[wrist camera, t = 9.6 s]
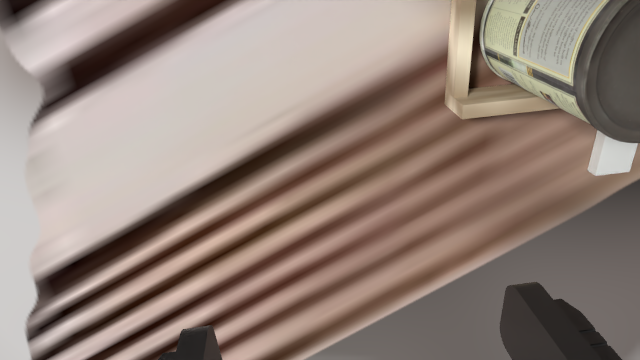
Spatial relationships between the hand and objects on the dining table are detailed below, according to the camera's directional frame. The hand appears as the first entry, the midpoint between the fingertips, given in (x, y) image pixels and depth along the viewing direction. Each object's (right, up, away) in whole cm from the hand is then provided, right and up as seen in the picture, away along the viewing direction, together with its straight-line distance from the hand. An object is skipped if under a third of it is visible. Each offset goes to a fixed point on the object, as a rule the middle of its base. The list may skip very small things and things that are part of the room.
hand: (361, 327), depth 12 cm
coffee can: (+17, +18, +25) cm, 35 cm away
